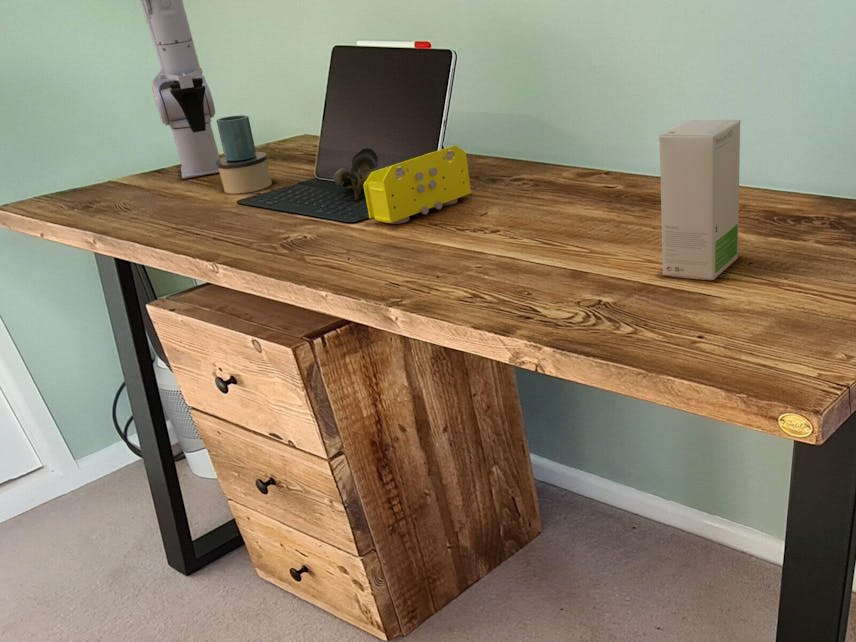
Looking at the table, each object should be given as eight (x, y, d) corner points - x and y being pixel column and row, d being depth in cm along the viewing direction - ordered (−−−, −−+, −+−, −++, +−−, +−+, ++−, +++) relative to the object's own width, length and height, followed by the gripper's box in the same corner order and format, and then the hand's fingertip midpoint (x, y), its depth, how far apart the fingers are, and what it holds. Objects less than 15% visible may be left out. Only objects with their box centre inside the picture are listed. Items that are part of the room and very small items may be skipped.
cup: (224, 157, 158) (215, 118, 155) (254, 152, 159) (246, 114, 156) (226, 162, 154) (217, 122, 150) (257, 157, 155) (249, 118, 152)
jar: (221, 186, 162) (214, 157, 159) (270, 177, 164) (263, 148, 161) (224, 197, 155) (216, 167, 152) (275, 187, 157) (268, 158, 154)
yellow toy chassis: (394, 229, 128) (383, 169, 124) (369, 223, 132) (358, 165, 127) (473, 198, 138) (466, 142, 133) (448, 194, 141) (441, 139, 137)
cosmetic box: (713, 282, 99) (715, 136, 91) (657, 276, 102) (654, 134, 94) (740, 257, 105) (744, 117, 97) (686, 252, 108) (686, 116, 100)
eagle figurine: (390, 188, 143) (390, 165, 150) (358, 155, 139) (359, 132, 146) (355, 217, 146) (356, 193, 153) (323, 186, 142) (326, 162, 148)
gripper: (150, 42, 154) (173, 125, 161) (150, 49, 142) (175, 138, 149) (192, 36, 155) (213, 118, 162) (195, 43, 143) (218, 131, 150)
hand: (198, 127), depth 156 cm, fingers open, 7 cm apart
